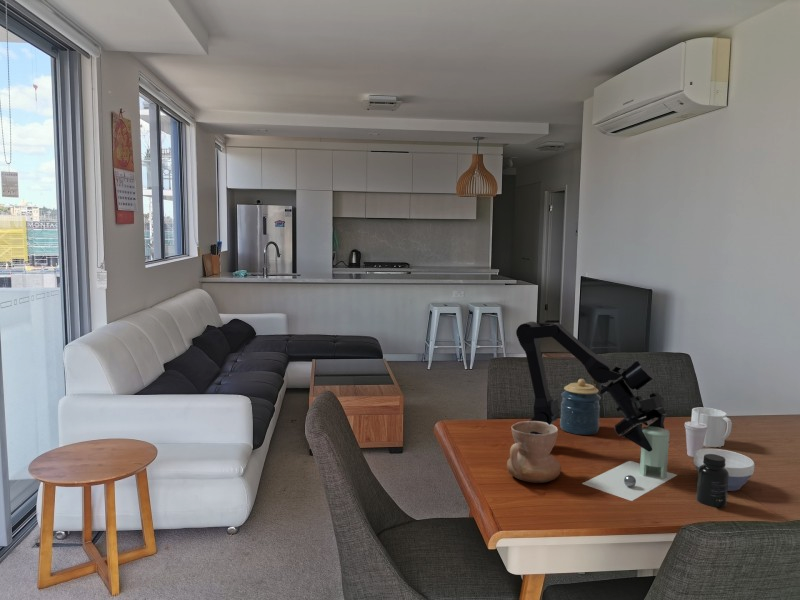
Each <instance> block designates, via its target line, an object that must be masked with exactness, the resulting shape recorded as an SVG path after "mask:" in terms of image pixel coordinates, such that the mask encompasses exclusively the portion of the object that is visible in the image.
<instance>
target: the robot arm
mask: <svg viewBox="0 0 800 600" xmlns="http://www.w3.org/2000/svg"><path fill="white" fill-rule="evenodd" d="M515 334H516V337H517V341H518V343H519V345H520V346H521V348H522V350H523V352H525V355H526V362H527V365H528V370H529V376H530V380H531V385H532V389H533V395H534V402H533V409H532V410H533V417H532V418H531V419H529V421H540V422H545V423H548V424H549V425H551V424H552V425H553V423H555V422H556V421H558V419H559V417H560V416H559V415H560V413H561V408H560V407H559V400H558V398H554V399H553V397H552V395H551V393H550V390H549V389H550V388H549V385H548V381H547V377H546V371H545V367H544V366H545V365H544V361H543V357H542V352H541V346H542V339H544V338H553V340H555V341H556V342H557V343H558V344H559V345H561V346H562V348H564V349H565V350H567V351H568V352H569V354H571V355H572V356H573V357H574V358H576V359H577V361H579V362H580V363H581V364H582V365H583V367H584V369H585V370H586V372H587V373H588V374H589V376H590V377H591V378H592V380H594V381H595V382H596V383H598V384H601V385H600V387H601V389H600V391H599V394H600V395H609V396H610V397H611V399H612V400H613V401H614V403H615V404H616V406H617V407H616V409H615V410H616V412H618V413H619V412H621V413H622V415H624V418H623V419H621V420H620V421H619V422H618V423H616V424H615V425H614V431H615V433H616V435H617V436H621V437H622V438H625V439H628V440H629V441H630V442H633V443H634V444H635V445H637V446H639V447H640V448H641V447H642V448H644V449H645V450H647V451H649V452H650V451H652V448H651V446H650V444H649V442H648V440H647V439H646V437H645V435H644V434H643V432H642V428H643V424H644V426H645V427H659V428H663V429H666V428H665V425H664V423H665V419H666V417H667V416H666V415H667V412H666V410H665V409H664V408H663V407H664V404H663V403H664V400H665V398H664V397H662V394H660V393H659V392H657V391H656V392H654V393H649V397H648V398H643V397H642V396H640V395H637V396H636V395H635V393H634V392H633V391H632V390H637V391H639V390H642V389H643V388H644V387H645V386H647V385H648V384H650V383H651V382H652V381H654V380H655V379H656V376H655V374H654V373H653V371H652V370H651V368H650V367H649V366H647V365H646V364H644V363H643V362H642V361H640V359H637V360H635V361H634V362H633V363H632V364H631V365H630V366H628V367H627V368H623V367H620V366H616V365H615V364H614V363H613V362H611V361H610V360H608V359H607V358H605V357H603V356H601V355H599V354H596V353H595V352H594V351H592V350H591V349H589V348H588V347H587V346H586V345H585V344H583V343H582V342H581V341H580V340H579V339H578V338H577V337H575V336H574V335H573V334H572V333H571V332H570V331H568V329H566V328H565V327H564V326H563V325H562V324H561V323H560V322H555V323H537V322H535V321H528V322H525V323H522V324H521V323H520V325H518V327H517V328H516V331H515ZM609 381H611V382H609ZM608 382H609V383H608ZM606 383H608V384H606ZM530 433H531V434H535V435H536V434H541V433H538V432H534V431H533V432H530Z"/></svg>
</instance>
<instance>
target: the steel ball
mask: <svg viewBox="0 0 800 600" xmlns="http://www.w3.org/2000/svg"><path fill="white" fill-rule="evenodd" d="M624 483H625V485H626V486H628V487H633V486H635V484H636V479H635V478H634V477H633V476H631V475H628V476H626V477H625V478H624Z"/></svg>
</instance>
